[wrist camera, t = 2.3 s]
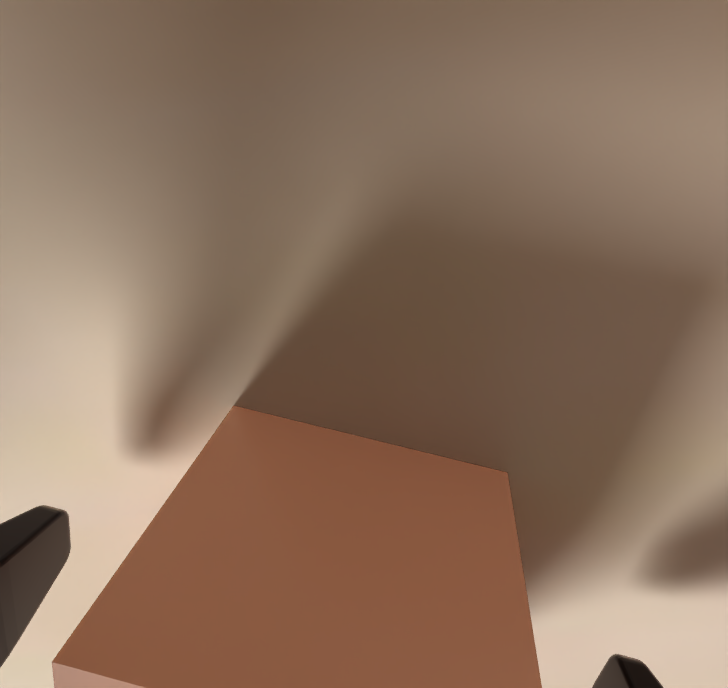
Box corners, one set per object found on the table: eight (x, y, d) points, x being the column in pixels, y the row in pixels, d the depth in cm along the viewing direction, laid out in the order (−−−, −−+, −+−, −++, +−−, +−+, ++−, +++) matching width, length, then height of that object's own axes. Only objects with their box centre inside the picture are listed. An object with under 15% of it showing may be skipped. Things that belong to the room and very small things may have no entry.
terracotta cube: (216, 592, 11) (74, 893, 7) (235, 402, 9) (51, 662, 5) (437, 650, 10) (431, 997, 6) (506, 469, 9) (560, 802, 4)
